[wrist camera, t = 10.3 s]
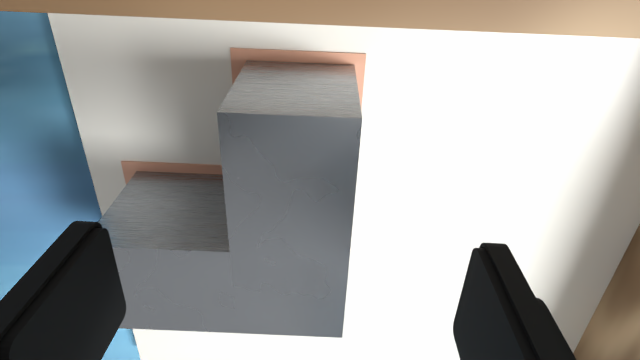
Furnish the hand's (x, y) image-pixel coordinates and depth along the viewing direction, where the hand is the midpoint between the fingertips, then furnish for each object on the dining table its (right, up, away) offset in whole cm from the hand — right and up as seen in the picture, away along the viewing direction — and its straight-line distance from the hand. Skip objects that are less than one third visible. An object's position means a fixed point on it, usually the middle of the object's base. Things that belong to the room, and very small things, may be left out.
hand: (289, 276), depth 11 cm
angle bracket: (-3, +3, +7) cm, 8 cm away
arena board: (+4, +1, +10) cm, 10 cm away
